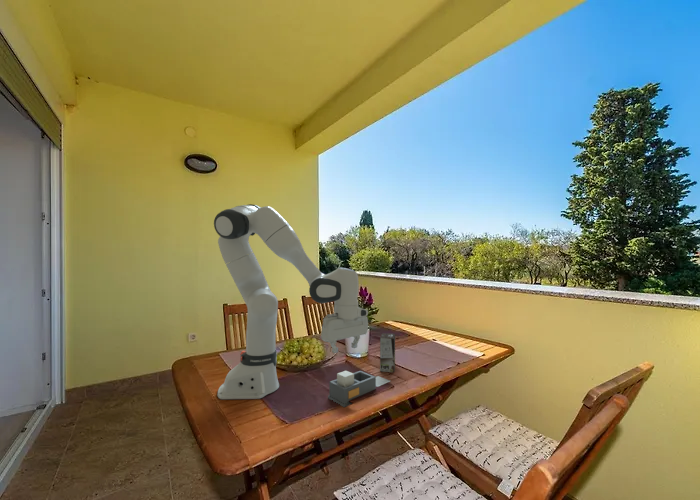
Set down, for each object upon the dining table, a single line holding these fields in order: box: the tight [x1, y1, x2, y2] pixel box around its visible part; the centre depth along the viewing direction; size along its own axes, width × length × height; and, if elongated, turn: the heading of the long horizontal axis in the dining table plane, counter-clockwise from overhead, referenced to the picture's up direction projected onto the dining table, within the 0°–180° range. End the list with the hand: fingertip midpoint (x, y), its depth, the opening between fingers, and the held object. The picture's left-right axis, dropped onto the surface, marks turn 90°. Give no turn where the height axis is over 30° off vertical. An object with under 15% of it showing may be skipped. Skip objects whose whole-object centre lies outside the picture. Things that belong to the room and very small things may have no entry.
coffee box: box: [379, 332, 396, 373], centre depth 135 cm, size 9×6×16 cm
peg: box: [336, 370, 354, 387], centre depth 108 cm, size 4×4×8 cm
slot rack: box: [327, 370, 391, 408], centre depth 114 cm, size 26×9×6 cm, turn 133°
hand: (345, 349), depth 109 cm, fingers open, 8 cm apart
